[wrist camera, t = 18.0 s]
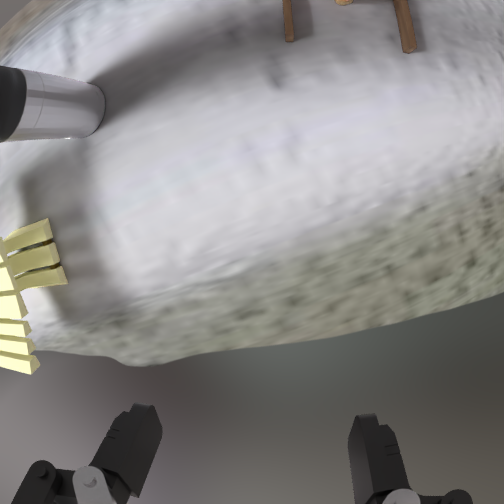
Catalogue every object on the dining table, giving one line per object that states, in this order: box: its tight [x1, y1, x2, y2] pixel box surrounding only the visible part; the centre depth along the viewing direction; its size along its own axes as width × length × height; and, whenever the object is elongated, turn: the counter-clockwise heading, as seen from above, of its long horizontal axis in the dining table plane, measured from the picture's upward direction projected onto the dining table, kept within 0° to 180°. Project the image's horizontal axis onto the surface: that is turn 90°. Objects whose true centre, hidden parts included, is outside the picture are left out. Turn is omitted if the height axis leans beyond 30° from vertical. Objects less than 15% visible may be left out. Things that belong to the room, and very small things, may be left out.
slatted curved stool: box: [0, 218, 68, 374], centre depth 39 cm, size 30×16×18 cm, turn 10°
